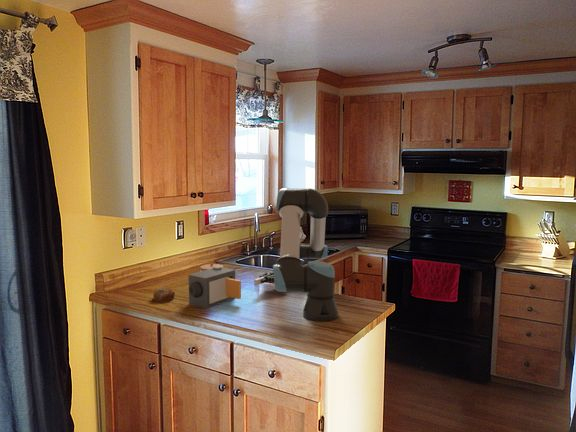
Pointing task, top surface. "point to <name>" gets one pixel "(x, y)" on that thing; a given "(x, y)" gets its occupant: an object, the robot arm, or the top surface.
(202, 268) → the lidded bowl
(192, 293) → the box
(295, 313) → the top surface
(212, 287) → the door
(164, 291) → the bread roll
